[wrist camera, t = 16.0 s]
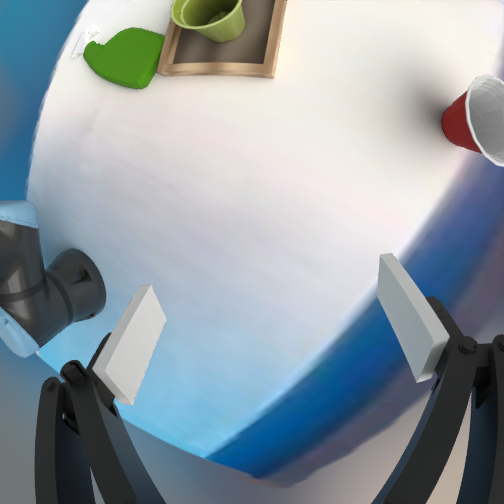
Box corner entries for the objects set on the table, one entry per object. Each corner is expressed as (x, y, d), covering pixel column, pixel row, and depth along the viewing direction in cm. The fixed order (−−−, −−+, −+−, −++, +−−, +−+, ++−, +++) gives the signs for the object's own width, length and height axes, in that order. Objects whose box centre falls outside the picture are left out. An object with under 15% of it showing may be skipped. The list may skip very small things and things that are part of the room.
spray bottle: (145, 95, 36) (70, 67, 37) (178, 39, 32) (95, 23, 33) (134, 92, 33) (61, 65, 34) (170, 32, 29) (86, 19, 30)
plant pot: (233, 61, 31) (213, 37, 23) (184, 41, 31) (157, 19, 23) (268, 16, 28) (257, -14, 20) (218, -1, 28) (198, -28, 20)
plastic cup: (423, 153, 30) (466, 150, 19) (426, 84, 27) (464, 59, 16) (479, 172, 29) (527, 179, 17) (482, 107, 25) (527, 97, 14)
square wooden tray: (164, 76, 34) (156, 72, 32) (186, -5, 28) (180, -12, 26) (273, 78, 32) (271, 72, 29) (288, -9, 26) (286, -17, 24)
